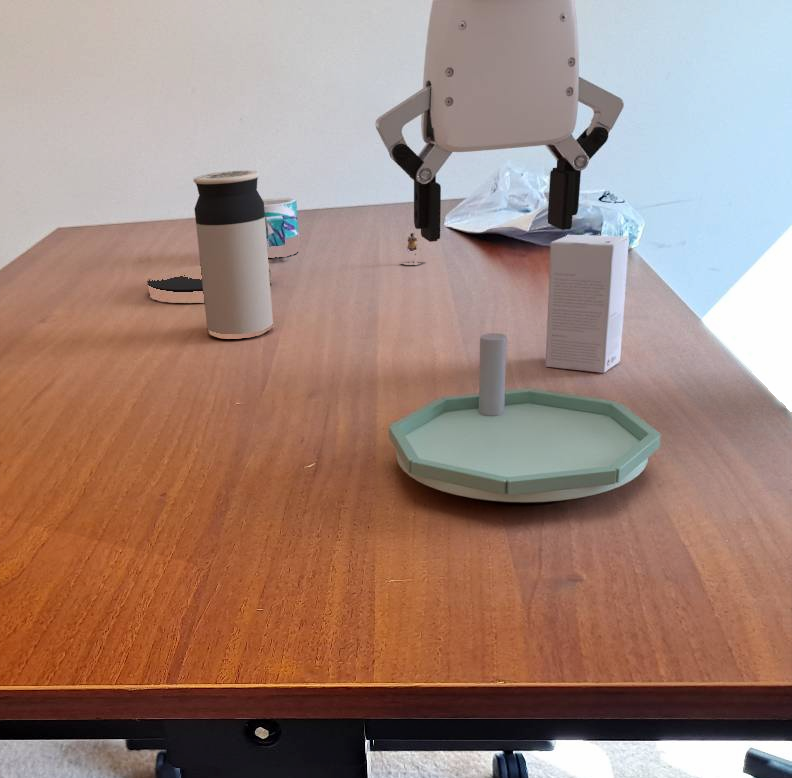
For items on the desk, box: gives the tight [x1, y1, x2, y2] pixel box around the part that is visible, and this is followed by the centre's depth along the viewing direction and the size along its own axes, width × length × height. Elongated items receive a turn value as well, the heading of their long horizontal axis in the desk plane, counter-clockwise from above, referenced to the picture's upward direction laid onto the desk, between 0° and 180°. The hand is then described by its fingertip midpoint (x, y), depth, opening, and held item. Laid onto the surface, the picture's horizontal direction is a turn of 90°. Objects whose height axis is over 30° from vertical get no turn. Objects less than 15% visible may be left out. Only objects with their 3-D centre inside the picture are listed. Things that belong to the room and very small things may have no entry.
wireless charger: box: [146, 269, 271, 292], centre depth 141 cm, size 18×18×2 cm
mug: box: [262, 197, 299, 247], centre depth 158 cm, size 8×12×8 cm
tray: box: [388, 332, 662, 502], centre depth 71 cm, size 18×18×7 cm
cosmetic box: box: [545, 234, 630, 374], centre depth 92 cm, size 6×4×12 cm
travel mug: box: [193, 170, 274, 334], centre depth 114 cm, size 8×8×18 cm
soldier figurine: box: [406, 232, 418, 251], centre depth 144 cm, size 2×1×4 cm, turn 47°
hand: (494, 232), depth 72 cm, fingers open, 9 cm apart
